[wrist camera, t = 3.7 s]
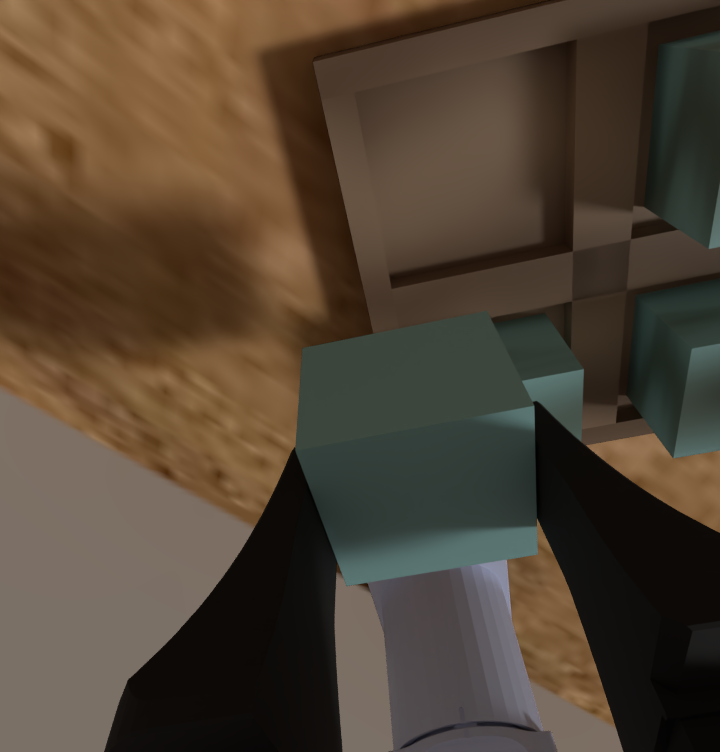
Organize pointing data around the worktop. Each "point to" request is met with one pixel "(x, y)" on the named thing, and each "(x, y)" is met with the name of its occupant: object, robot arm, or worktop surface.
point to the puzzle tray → (550, 200)
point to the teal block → (419, 449)
